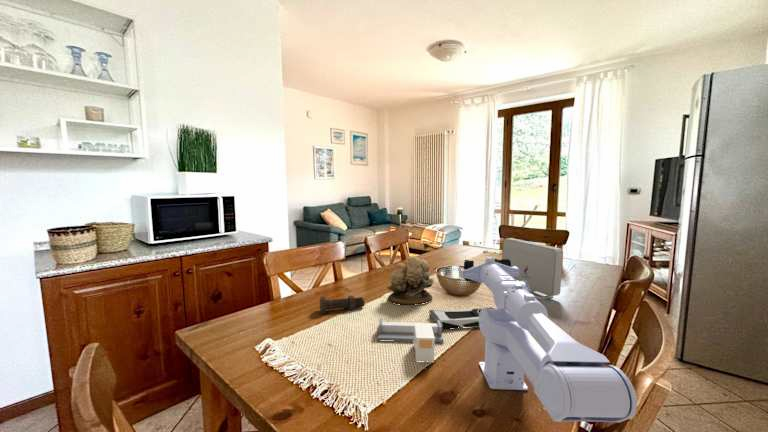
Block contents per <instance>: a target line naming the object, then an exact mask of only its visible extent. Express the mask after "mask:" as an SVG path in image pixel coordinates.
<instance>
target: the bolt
mask: <svg viewBox="0 0 768 432" xmlns="http://www.w3.org/2000/svg"><path fill="white" fill-rule="evenodd" d="M365 303H366V300H365V298H364V297H363V296H362V297H355V296H354V295H348V296H347V298H339V299H338V298H336V299H327V298H326V296H324V295H323V296H320V298H319V312H320V313H321V314H322V315H324V314H326V313H327V311H330V310H331V311H333V310H338V309H347V310H350V311H353V310H355V309H356V308H361V307H362V308H363V307H364V306H365Z"/></svg>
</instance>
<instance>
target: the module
mask: <svg viewBox="0 0 768 432" xmlns="http://www.w3.org/2000/svg"><path fill="white" fill-rule="evenodd" d="M413 323H414V342H413V348H414V347H415V348H414V351H415V352H414V353H415V358H416V359H415V362H416V361H424V362H423V363H425V362H426V361H428V362H432V363H435V344H436V343H435V338H434V334H433V330H432V326H431V323H432V322H428V323H427V322H413Z"/></svg>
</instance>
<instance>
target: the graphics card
mask: <svg viewBox="0 0 768 432" xmlns="http://www.w3.org/2000/svg"><path fill="white" fill-rule="evenodd" d="M485 308H486V309H498V308H497V307H494V306H493V307H485ZM481 310H482V307H481V308H464V309H450V310H446V309H429V314H428V315H429V316H428V318H429V317H432V318H433V319H432V318H431V319H432V320H433V321H434V320H435V321H434V323H435V322H436V323H437V320H440V322H441V325H442V331H443V332H444V330H443V329H450V328H458V327H459V328H463V327H475V328H474V329H478V328H479V329H480V327H479V313H480V311H481ZM450 330H451V329H450Z"/></svg>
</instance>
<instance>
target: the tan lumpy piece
mask: <svg viewBox="0 0 768 432" xmlns="http://www.w3.org/2000/svg"><path fill="white" fill-rule="evenodd" d="M407 265H408V266H407ZM407 265H406V264H405V263H403V262H398V263H397V264H395V266H394V270H392V272H391V276H390V283H391V284H389V285H387V290H389V291H392V293H390V294H389V295H388V297H387V301H388V302H389V301H390V302H392V303H395V304H400V305H399V306H401V305H415V304H422V303H426V302H429V301H430V302H432V300H433V295H432V294H431V293H430V292H428V291H427V290H426V289H428V288H431V287H432V286H433V284H434V282H435V281H434V280H435V279H434V278H432V277H431V278H430V275H431V272H430V268H431V267H430V264H429V262H428V261H427V260H426V259H420V258H419V257H417V256H415V255H411V256H409V257H408V258H407ZM390 302H389V303H390ZM430 302H429V303H430ZM392 303H391V304H392ZM395 304H394V305H395ZM426 304H427V303H426ZM415 306H416V305H415Z"/></svg>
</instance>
